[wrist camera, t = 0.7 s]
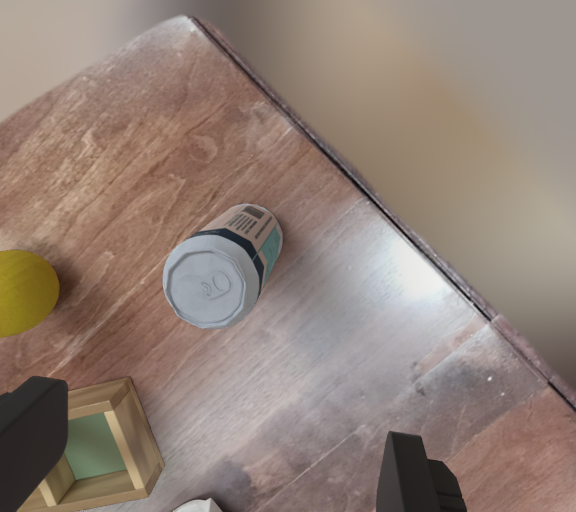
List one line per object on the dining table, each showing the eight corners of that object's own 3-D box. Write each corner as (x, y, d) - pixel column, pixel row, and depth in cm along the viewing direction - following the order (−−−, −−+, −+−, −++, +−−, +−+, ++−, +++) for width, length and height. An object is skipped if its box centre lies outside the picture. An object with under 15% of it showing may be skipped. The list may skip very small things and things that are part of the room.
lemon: (82, 312, 38) (17, 359, 30) (12, 308, 38) (-70, 353, 31) (76, 240, 37) (6, 270, 29) (4, 237, 37) (-84, 266, 29)
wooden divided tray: (-41, 416, 41) (-76, 443, 38) (130, 376, 39) (109, 400, 35) (-1, 499, 43) (-31, 532, 40) (165, 465, 41) (149, 497, 37)
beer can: (203, 221, 35) (137, 265, 24) (263, 190, 34) (224, 221, 23) (236, 280, 36) (187, 352, 25) (295, 252, 35) (273, 313, 24)
